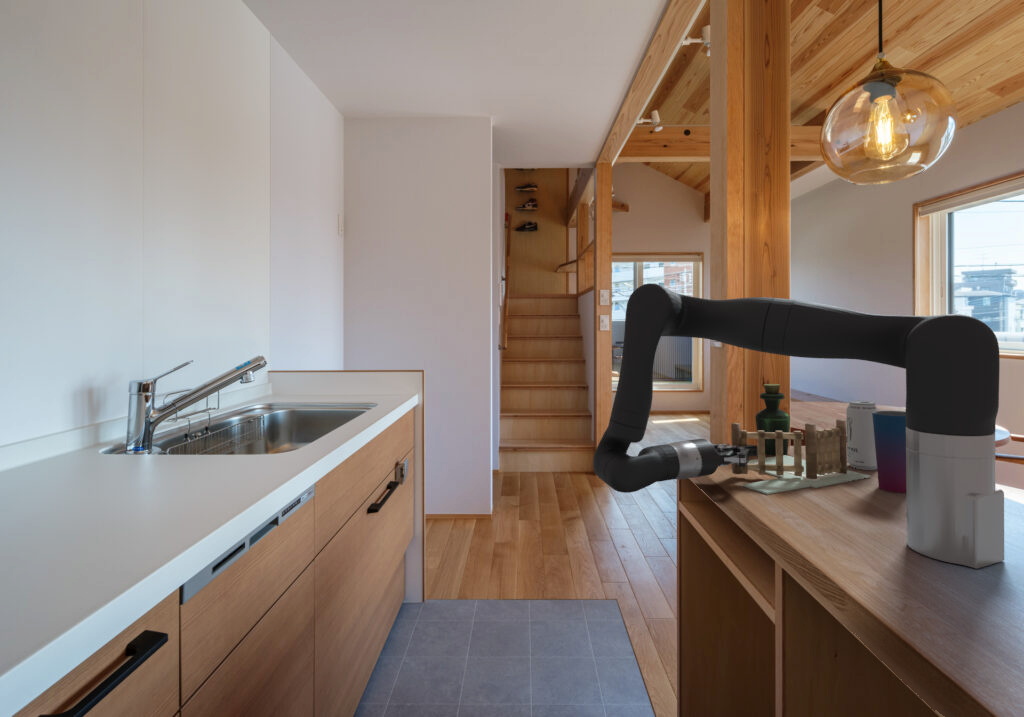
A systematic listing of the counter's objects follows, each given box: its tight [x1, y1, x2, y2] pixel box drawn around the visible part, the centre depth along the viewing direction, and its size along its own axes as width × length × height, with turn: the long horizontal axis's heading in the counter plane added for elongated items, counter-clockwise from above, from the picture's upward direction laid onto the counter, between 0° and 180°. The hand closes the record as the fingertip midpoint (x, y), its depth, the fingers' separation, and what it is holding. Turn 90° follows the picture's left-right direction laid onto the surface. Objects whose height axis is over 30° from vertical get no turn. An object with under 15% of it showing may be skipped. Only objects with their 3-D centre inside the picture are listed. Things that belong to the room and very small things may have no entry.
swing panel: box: [730, 422, 804, 476], centre depth 104 cm, size 14×2×11 cm, turn 73°
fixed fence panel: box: [804, 418, 848, 479], centre depth 103 cm, size 2×11×12 cm, turn 109°
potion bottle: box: [755, 383, 791, 456], centre depth 126 cm, size 8×8×18 cm
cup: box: [872, 410, 906, 494], centre depth 94 cm, size 7×7×15 cm
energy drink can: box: [845, 400, 880, 471], centre depth 110 cm, size 6×6×15 cm
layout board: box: [742, 454, 871, 495], centre depth 108 cm, size 21×28×1 cm
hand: (754, 449), depth 104 cm, fingers closed
